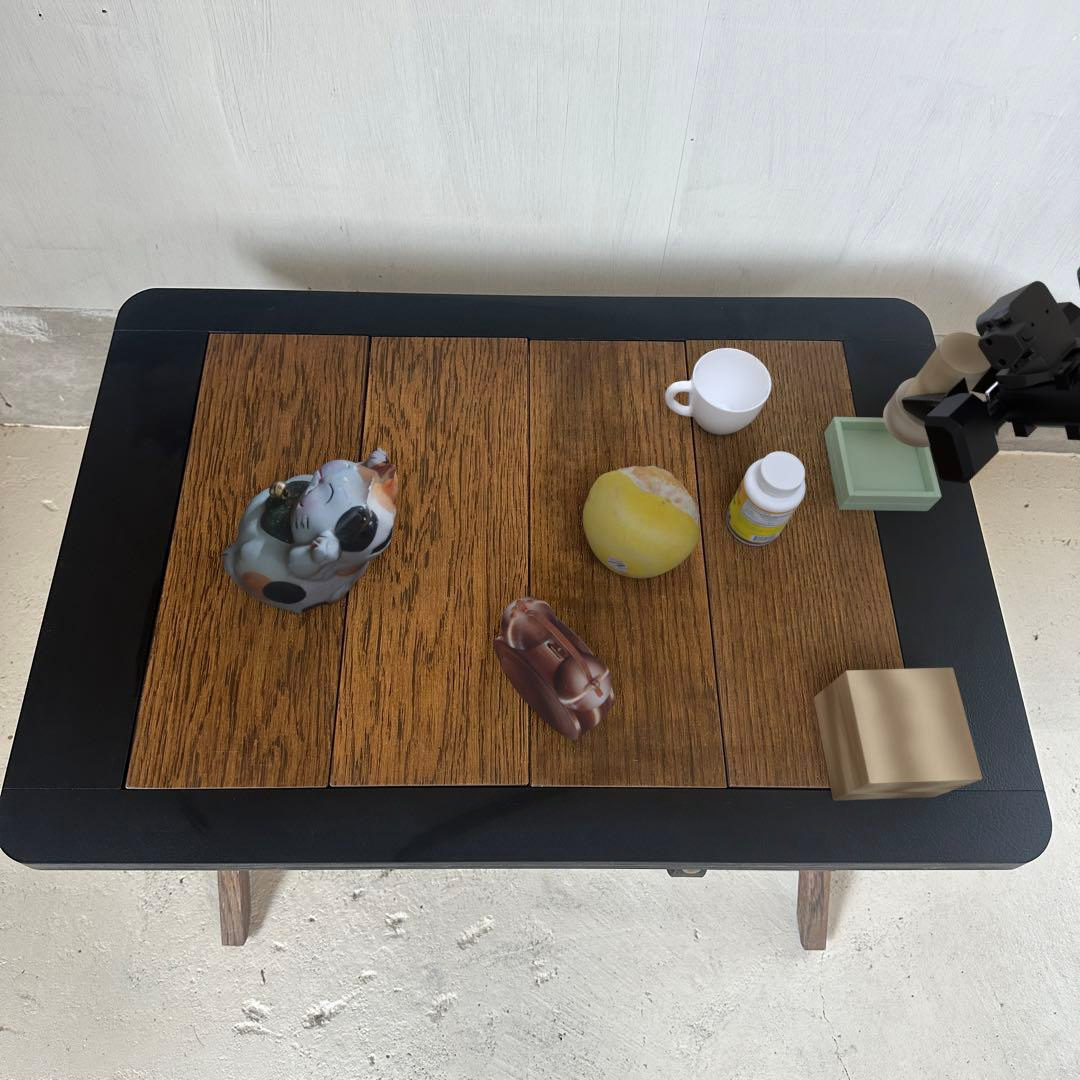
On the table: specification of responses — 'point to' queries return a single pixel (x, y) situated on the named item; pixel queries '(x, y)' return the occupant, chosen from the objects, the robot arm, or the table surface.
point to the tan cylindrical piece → (935, 384)
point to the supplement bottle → (766, 498)
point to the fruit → (640, 521)
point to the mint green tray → (878, 468)
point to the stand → (895, 734)
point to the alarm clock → (553, 668)
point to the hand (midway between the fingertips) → (919, 389)
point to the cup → (723, 391)
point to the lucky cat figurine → (314, 533)
